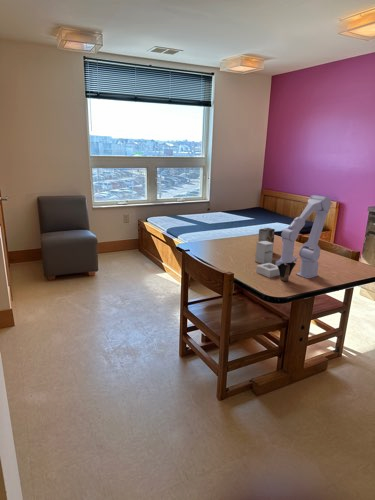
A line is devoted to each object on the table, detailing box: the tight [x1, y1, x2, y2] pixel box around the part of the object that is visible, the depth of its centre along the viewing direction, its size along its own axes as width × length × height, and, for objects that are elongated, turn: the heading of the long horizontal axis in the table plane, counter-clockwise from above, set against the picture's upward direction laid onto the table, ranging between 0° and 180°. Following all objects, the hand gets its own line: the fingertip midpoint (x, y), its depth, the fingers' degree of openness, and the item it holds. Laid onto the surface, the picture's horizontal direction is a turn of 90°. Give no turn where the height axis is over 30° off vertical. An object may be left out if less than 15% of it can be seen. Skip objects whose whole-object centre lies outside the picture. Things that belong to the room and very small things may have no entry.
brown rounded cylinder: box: [280, 264, 290, 282], centre depth 183 cm, size 4×4×8 cm
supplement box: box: [254, 241, 274, 265], centre depth 211 cm, size 7×7×13 cm
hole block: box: [255, 263, 280, 279], centre depth 193 cm, size 10×10×4 cm
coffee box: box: [257, 227, 276, 243], centre depth 232 cm, size 9×6×16 cm
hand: (284, 276), depth 183 cm, fingers closed on brown rounded cylinder, 4 cm apart
